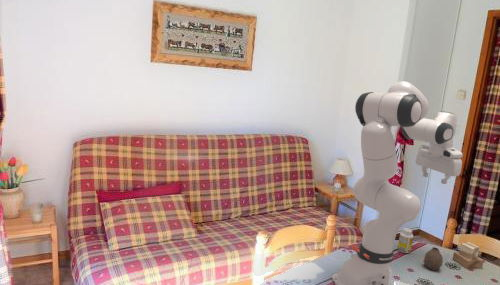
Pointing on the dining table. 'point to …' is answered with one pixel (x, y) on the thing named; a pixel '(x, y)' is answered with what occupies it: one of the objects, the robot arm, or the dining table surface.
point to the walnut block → (468, 261)
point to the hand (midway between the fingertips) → (434, 180)
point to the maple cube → (469, 250)
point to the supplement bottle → (405, 240)
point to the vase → (433, 259)
